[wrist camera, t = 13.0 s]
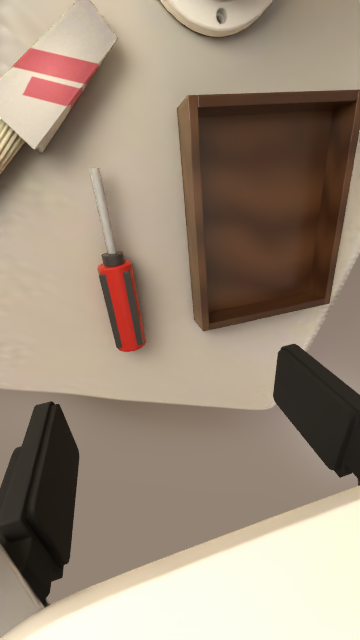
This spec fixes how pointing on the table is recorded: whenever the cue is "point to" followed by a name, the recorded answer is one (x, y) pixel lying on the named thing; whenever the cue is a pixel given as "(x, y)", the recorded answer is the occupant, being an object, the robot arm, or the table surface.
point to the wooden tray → (265, 199)
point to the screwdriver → (118, 282)
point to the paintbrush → (51, 79)
